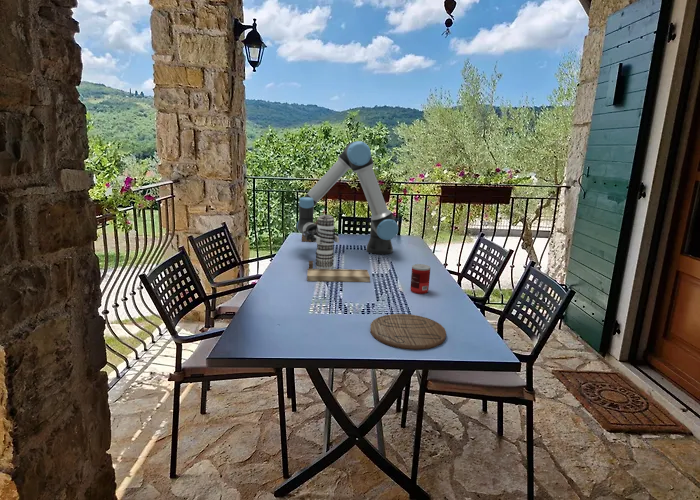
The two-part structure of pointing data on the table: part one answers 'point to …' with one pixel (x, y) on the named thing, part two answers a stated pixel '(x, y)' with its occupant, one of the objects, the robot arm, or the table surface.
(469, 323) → the table surface
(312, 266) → the brown flat block
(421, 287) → the canned food
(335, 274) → the oak board
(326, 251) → the decorative candle
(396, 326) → the trivet
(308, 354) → the table surface
